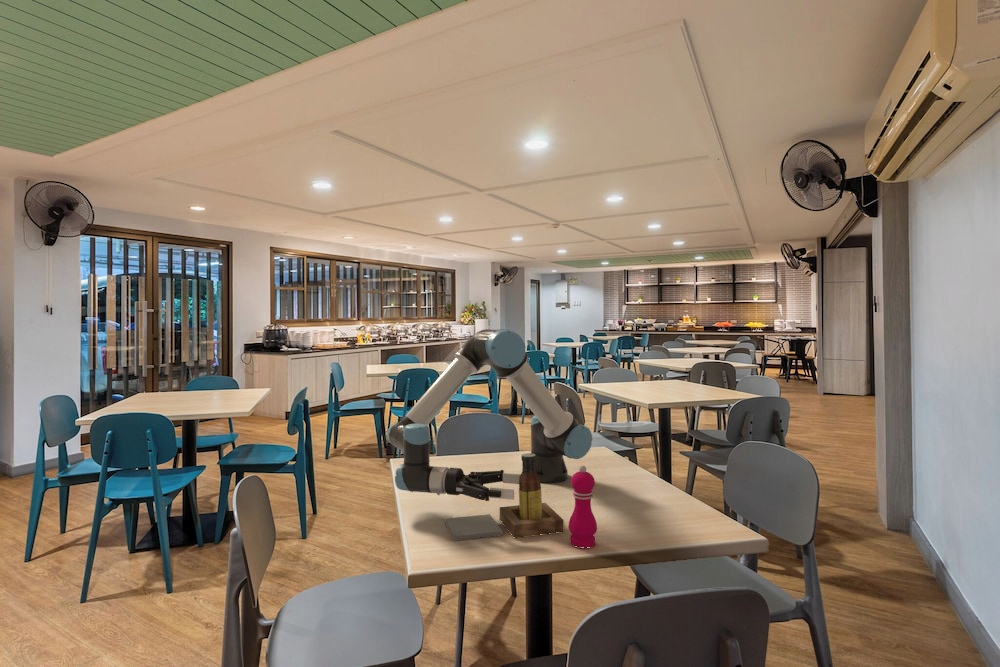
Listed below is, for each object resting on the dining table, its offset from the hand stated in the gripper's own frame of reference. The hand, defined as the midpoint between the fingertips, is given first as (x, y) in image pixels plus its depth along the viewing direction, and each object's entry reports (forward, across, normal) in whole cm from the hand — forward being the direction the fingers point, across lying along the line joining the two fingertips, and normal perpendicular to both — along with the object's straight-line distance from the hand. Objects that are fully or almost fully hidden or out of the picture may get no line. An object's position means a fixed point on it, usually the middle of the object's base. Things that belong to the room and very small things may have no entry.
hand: (519, 486), depth 146 cm
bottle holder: (+3, 0, -11) cm, 11 cm away
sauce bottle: (+3, 0, -11) cm, 11 cm away
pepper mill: (+18, +8, -11) cm, 23 cm away
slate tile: (-12, +6, -11) cm, 17 cm away
